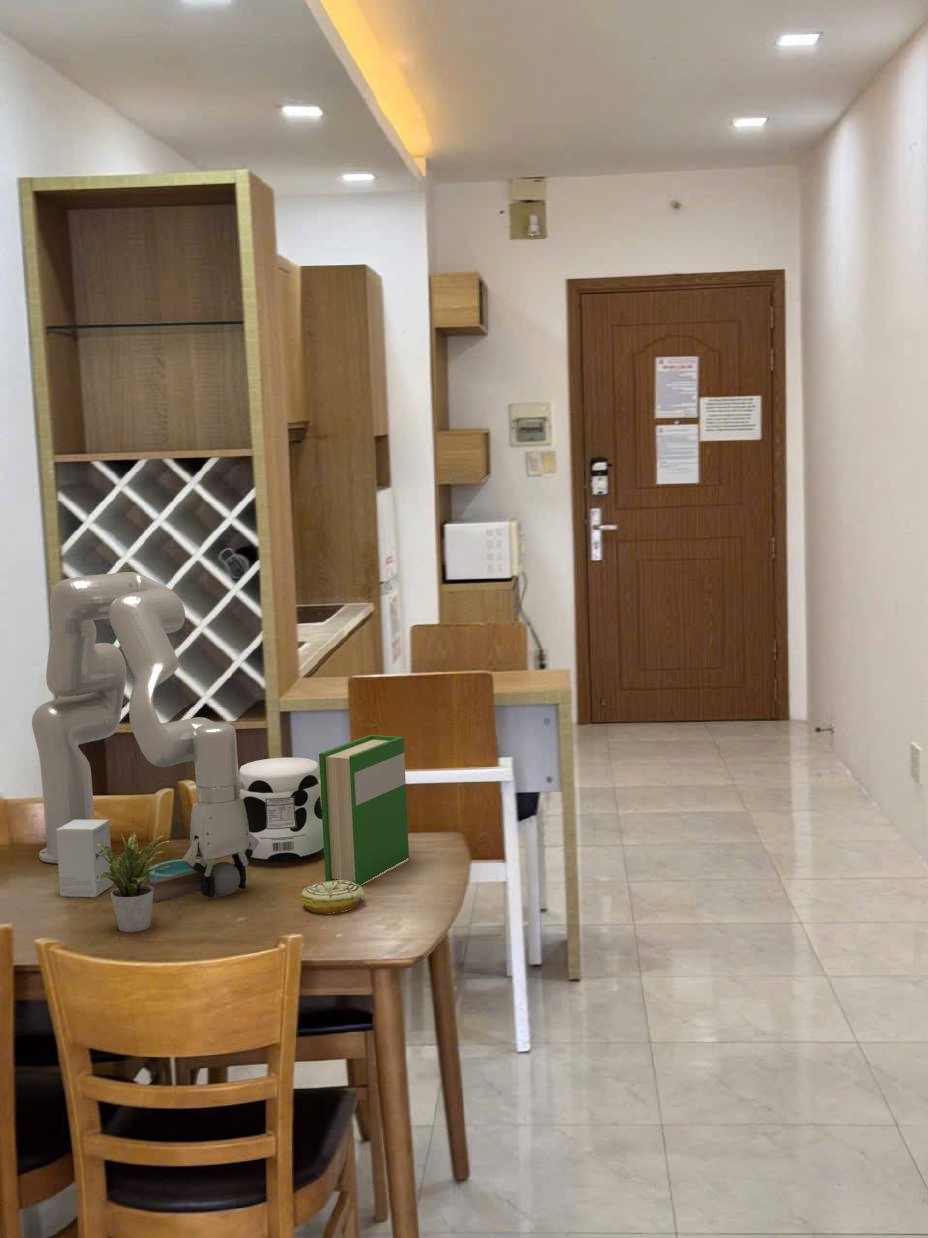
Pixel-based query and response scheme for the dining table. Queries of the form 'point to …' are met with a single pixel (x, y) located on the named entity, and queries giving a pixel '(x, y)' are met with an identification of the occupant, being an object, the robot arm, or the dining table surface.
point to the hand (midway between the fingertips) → (224, 891)
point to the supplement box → (83, 857)
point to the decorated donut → (332, 896)
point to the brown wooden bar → (175, 886)
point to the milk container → (283, 808)
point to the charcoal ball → (225, 878)
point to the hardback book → (364, 808)
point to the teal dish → (170, 869)
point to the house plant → (132, 884)
